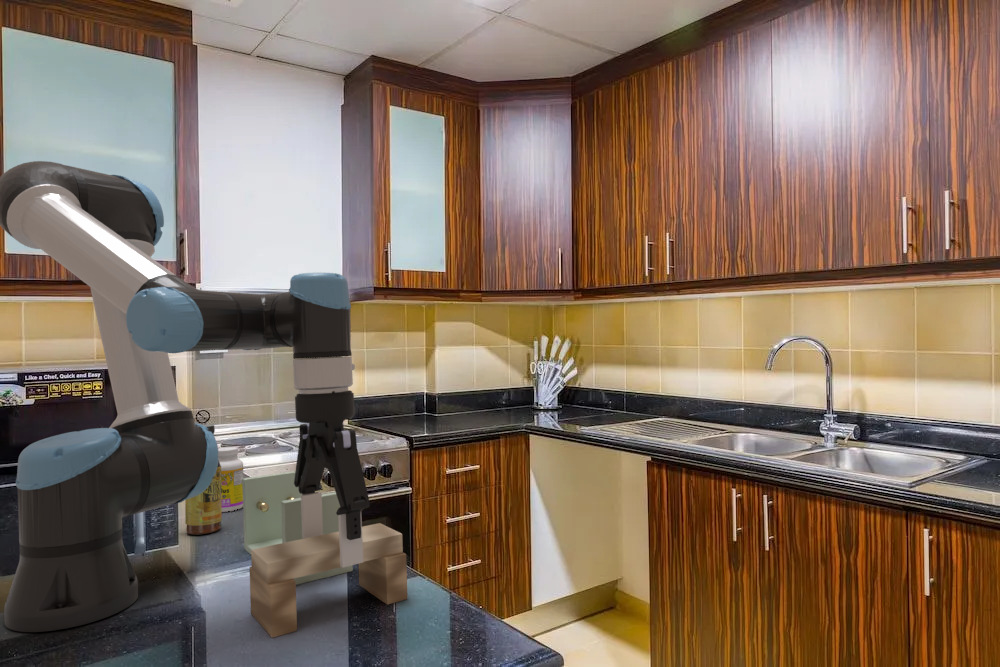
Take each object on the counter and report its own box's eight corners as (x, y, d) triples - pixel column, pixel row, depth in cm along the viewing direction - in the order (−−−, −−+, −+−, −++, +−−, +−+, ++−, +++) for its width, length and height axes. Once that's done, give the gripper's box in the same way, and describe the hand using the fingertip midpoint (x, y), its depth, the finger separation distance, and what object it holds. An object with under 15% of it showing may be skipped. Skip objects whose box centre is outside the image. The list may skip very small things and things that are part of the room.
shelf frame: (352, 570, 100) (350, 491, 101) (286, 587, 95) (284, 503, 95) (302, 537, 119) (300, 470, 119) (244, 548, 113) (242, 478, 113)
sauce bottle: (208, 536, 121) (205, 428, 121) (178, 535, 122) (175, 428, 122) (229, 526, 127) (226, 423, 127) (201, 525, 128) (198, 423, 129)
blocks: (271, 637, 78) (270, 587, 78) (250, 613, 86) (249, 567, 86) (407, 598, 89) (406, 554, 89) (378, 580, 96) (377, 538, 96)
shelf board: (267, 584, 79) (267, 563, 79) (251, 569, 85) (251, 549, 85) (402, 552, 90) (402, 533, 90) (380, 540, 95) (379, 523, 95)
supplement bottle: (203, 512, 139) (201, 450, 139) (226, 504, 145) (224, 445, 145) (229, 513, 137) (227, 451, 137) (251, 505, 143) (249, 446, 143)
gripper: (392, 391, 80) (400, 568, 79) (318, 385, 100) (324, 526, 100) (332, 396, 75) (340, 584, 75) (267, 389, 95) (273, 537, 95)
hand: (331, 551), depth 87 cm, fingers open, 13 cm apart
